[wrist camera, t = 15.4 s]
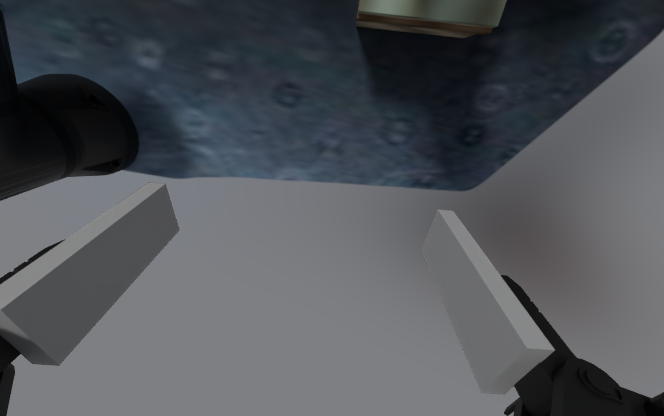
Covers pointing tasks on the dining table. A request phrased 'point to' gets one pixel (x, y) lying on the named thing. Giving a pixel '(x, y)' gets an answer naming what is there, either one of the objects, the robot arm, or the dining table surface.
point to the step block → (432, 16)
